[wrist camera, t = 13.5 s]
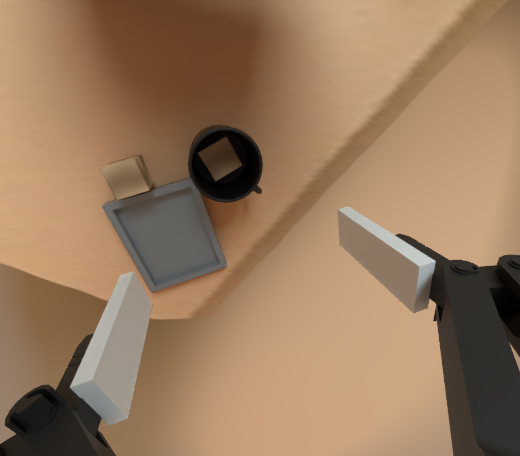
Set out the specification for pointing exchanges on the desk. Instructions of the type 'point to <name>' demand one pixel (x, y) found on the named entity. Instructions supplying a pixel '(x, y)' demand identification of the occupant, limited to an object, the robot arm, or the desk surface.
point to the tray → (167, 233)
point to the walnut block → (219, 157)
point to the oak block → (127, 177)
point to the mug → (237, 180)
